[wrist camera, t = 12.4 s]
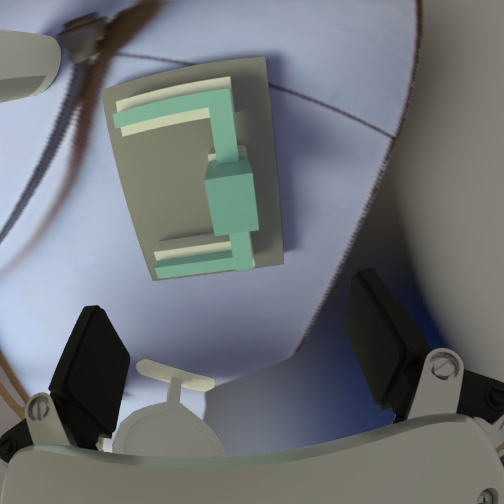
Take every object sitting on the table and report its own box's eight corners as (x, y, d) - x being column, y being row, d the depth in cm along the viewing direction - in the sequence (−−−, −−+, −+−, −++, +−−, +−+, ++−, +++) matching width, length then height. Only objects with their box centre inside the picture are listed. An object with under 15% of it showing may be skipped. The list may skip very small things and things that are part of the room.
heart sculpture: (225, 381, 44) (229, 483, 28) (213, 394, 46) (215, 488, 30) (132, 354, 39) (110, 462, 24) (127, 369, 41) (108, 468, 26)
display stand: (280, 253, 31) (287, 275, 28) (156, 270, 31) (149, 293, 28) (262, 59, 21) (268, 53, 17) (109, 89, 21) (90, 91, 17)
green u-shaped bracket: (259, 257, 26) (266, 292, 22) (160, 271, 26) (150, 306, 22) (238, 87, 19) (241, 85, 14) (118, 112, 19) (90, 120, 14)
